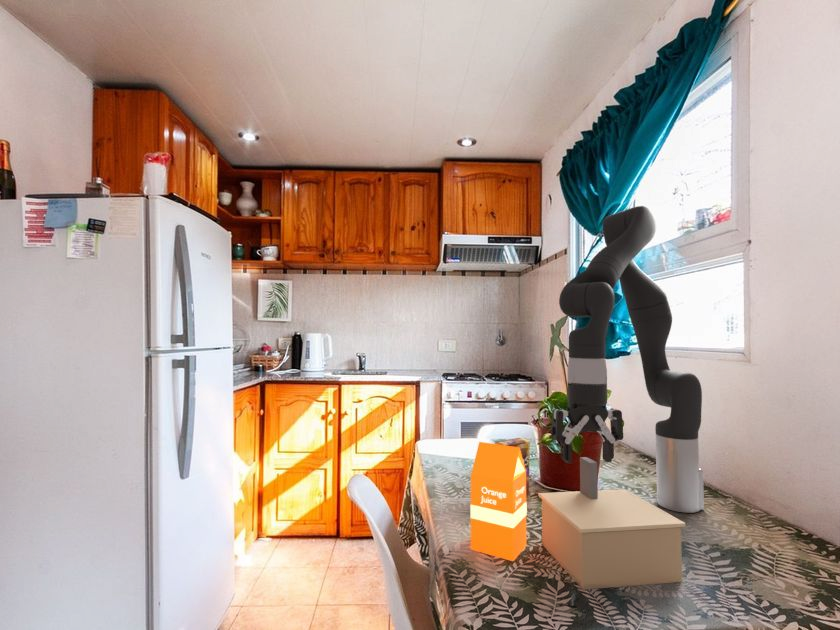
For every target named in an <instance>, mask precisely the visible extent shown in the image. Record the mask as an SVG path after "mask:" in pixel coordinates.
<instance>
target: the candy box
mask: <svg viewBox="0 0 840 630" xmlns="http://www.w3.org/2000/svg"><path fill="white" fill-rule="evenodd" d="M494 444H498V445H505V446H512V447H519V448H520V451H521V455H522V459H523V462H524V466H525V470H526V502H528V501H529V500H530V448H531V447H530V446H531V445H530V440H528V439H526V438H520V437H517V438H511V439H505V440H499V441H498V440H496V441H494Z"/></svg>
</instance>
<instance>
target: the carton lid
mask: <svg viewBox="0 0 840 630" xmlns="http://www.w3.org/2000/svg"><path fill="white" fill-rule="evenodd" d="M598 486H599V485H598V461H595V460H593V459H591V458H590V457H587V456H582V457H579V491H577V490H575V491H556V492H555V491H554V492H538V493H537V494H538V497H539V498H540V499H541V501H542V500H544V501H545V502H546V503H547V504H548V505H549V506H550V507H552V508H553V509H554V510H555V511H556V512H557V513H558V514H560V515H561V516H562V517H563V518H564V519H565V520H566V521H568V522H569V523H570V524H571V525H572V526H573V527H575V528H576V529H577V530H578V531H579V532H580V533H589V532H606V531H623V530H640V529H657V528H675V527H681V528H686V522H684V521H682V520H680V519H679V518H677V517H675V516H673V514H672V515H671V514H670V513H669V512H666V511H665V510H663V509H661V508H660V507H657V505H656V506H655V505H654V504H653V503H650V502H648V500H645V499H643V498H642V497H640V496H638V495H636V494H634V493H632V492H631V491H629V490H628V489H625V488H624V489H621V488H620V489H599V490H598Z"/></svg>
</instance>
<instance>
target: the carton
mask: <svg viewBox="0 0 840 630" xmlns="http://www.w3.org/2000/svg"><path fill="white" fill-rule="evenodd" d="M541 536H542V537H541V543H542V544H541V545H542V546H543V547H544V548H545V549H546V551H548V552H549V554H550V555H551V556H552V557H553V558H554V559H555V560H556V561H557V562H558V564H559V565H560V567H562V568H563V569H564V570H565V571H566V573H568V575H569V576H570V577H571V578H572V579H573V580H574V581H575V583H576V584H577V585H578V586H579V587H580V588H581V590H594V589H608V588H619V587H620V588H621V587H633V586H645V585H646V586H647V585H658V584H660V585H661V584H670V583H672V584H673V583H674V584H675V583H683V567H682V566H683V563H682V562H683V561H682V555H683V554H682V527H675V528H657V529H640V530H623V531H606V532H589V533H580V532H579V531H578V530H577V529H576V528H575V527H573V526H572V525H571V524H570V523H569V522H568V521H566V520H565V519H564V518H563V517H562V516H561V515H560V514H558V513H557V512H556V511H555V510H554V509H553V508H552V507H550V506H549V505H548V504H547V503H546V502H545V501H544V500H542V499H541Z"/></svg>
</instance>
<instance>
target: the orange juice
mask: <svg viewBox="0 0 840 630" xmlns="http://www.w3.org/2000/svg"><path fill="white" fill-rule="evenodd" d="M527 506H528V505H527V501H526V470H525V466H524V462H523V459H522V455H521V451H520V448H519V447H512V446H505V445H498V444H495V443H490V442H482V441H479V442H478V445H477V451H476V454H475V458H474V462H473V467H472V470H471V473H470V550H473V551H476V552H478V553H483V554H486V555H490V556H493V557H496V558H500V559H504V560H507V561H511V562H514V561H515V560H516V559H517V558H518V556H519V555H520V554H521V553H522V552H523V550H524V549H525V548H526V547H527V514H528V513H527V512H528V511H527Z"/></svg>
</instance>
